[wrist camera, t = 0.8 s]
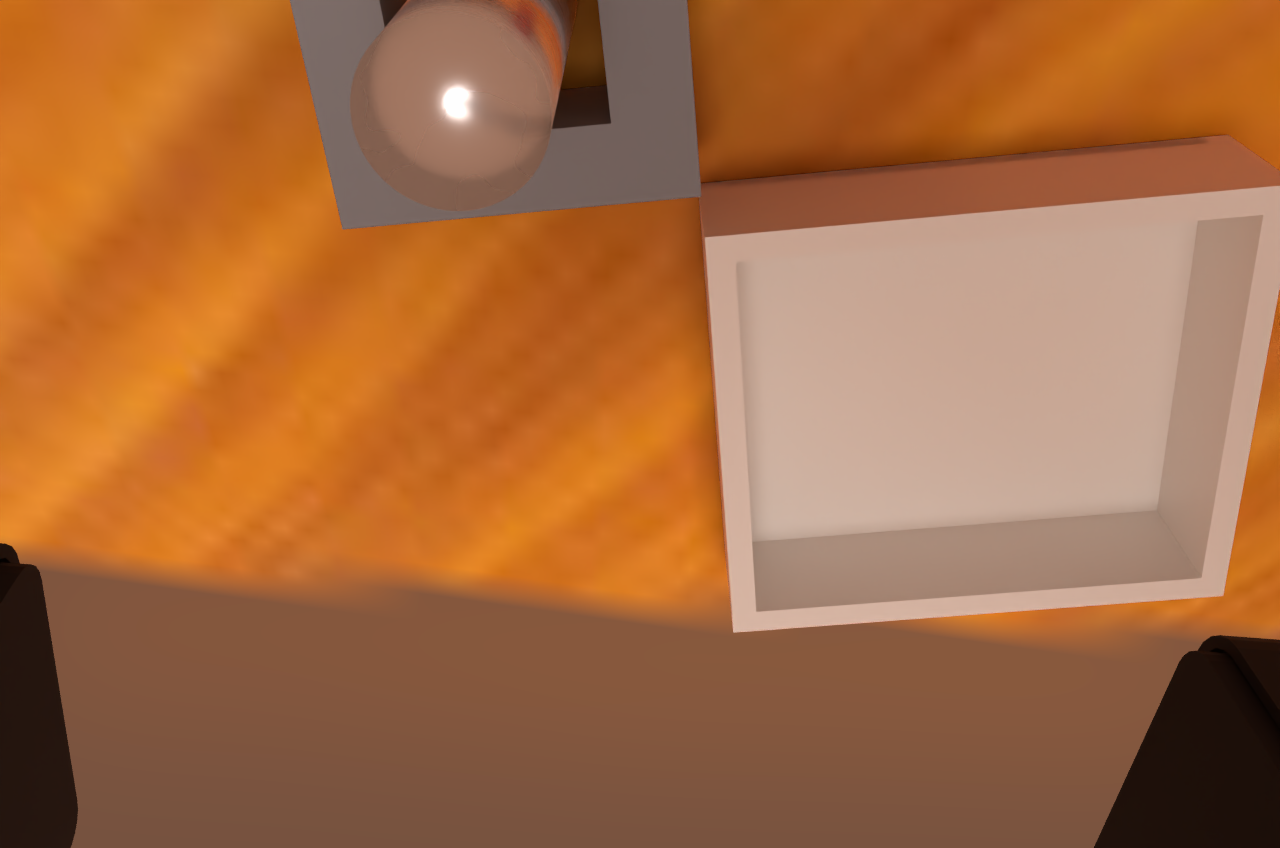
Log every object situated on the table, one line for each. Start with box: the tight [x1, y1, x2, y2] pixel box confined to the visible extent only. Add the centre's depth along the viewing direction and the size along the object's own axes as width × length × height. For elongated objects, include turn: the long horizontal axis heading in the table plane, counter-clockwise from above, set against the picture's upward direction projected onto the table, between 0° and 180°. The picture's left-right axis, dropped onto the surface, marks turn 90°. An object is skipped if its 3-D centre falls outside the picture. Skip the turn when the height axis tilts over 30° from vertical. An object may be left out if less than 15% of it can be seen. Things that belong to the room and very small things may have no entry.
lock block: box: [290, 0, 701, 229], centre depth 33 cm, size 10×10×4 cm
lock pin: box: [350, 0, 578, 211], centre depth 29 cm, size 4×4×12 cm
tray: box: [699, 135, 1280, 632], centre depth 38 cm, size 16×14×4 cm
